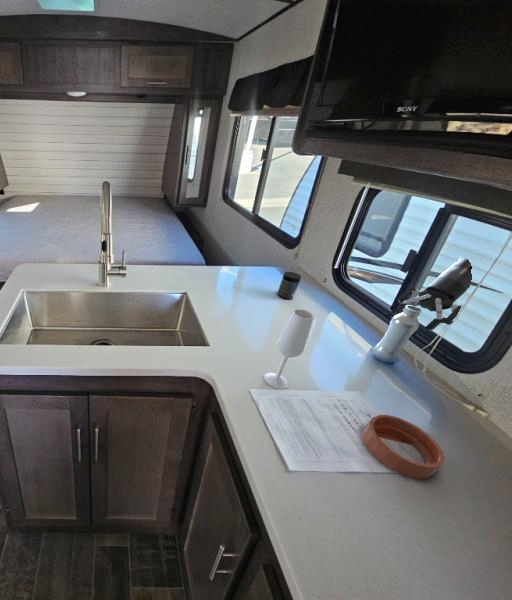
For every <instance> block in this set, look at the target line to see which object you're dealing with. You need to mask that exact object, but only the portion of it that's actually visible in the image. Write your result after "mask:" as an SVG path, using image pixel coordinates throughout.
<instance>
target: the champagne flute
mask: <svg viewBox="0 0 512 600" xmlns="http://www.w3.org/2000/svg"><path fill="white" fill-rule="evenodd" d="M314 317H315V316H314V314H313V313H312V312H311V311H308V310H306V309H302V308H296V309H294V310H293V312H292V314H291V315H290V317H289V319H288V321H287V322H286V325H285V327H284V328H283V330H282V332H281V334H280V336H279V338H278V340H277V342H276V346H277V349H278V351H279V353H280V354H281V355H282V359H281V362H280V364H279V366H278V369H277V371H276V373H275V372H267V373H266V374H264V376H263V378H264V381H265V383H266V384H267V385H269V386H270V387H272V388H275V389H278V390H284V389H287V388H288V387H289V381H288V380H287V379H286V378H285V377H284V376H283V375H282V374H283V371H284V369H285V366H286V364H287V361H288V359H289V358H290V359H291V358H296V357H299V356H301V355H303V353H304V351H305V348H306V344H307V340H308V337H309V334H310V331H311V328H312V324H313V321H314Z"/></svg>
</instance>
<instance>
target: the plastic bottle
mask: <svg viewBox="0 0 512 600" xmlns="http://www.w3.org/2000/svg"><path fill="white" fill-rule="evenodd" d="M421 313H422V308H421V307H418V306H411V305H407V306H406V307H405V309H403V312H402V313H400V314H398V315H394V316H393V317H392V318H391V319H390V322H389V325H388V327H387V330H386V332H385V333H384V336H383V337H382V338H381V339H380V341H379V342H378V343H376V344H375V346H374V347H373V349H372V355H373V357H374V358H376V359H377V360H379V361H381V362H383V363H388V364H391V363H395V362H396V361H397V360H398V359H399V358H400V356H401V352H402V350H403V348H404V347H405V344H406V343H407V341H408V340H409V339H410V337H412V335H413V334H414V333H415V332H416V331H417V330H418V329H419V327H420V322H419V319H418V317H420V314H421Z"/></svg>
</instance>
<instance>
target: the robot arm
mask: <svg viewBox="0 0 512 600" xmlns="http://www.w3.org/2000/svg"><path fill="white" fill-rule="evenodd" d="M458 259H459V260H458ZM458 259H457V260H458V261H457V262H456V261H455V262H454V263H453V264H452V265H450V266H449V267H448V268H447V269H446V270H444V271H443V272H441V274H439V275H438V276H437V278H435V279H434V280H433V281H432V282H431V283H430V284H429V285H428V286H427V287H425V288H424V289H423V290H419V289H417V288H416V287H415V286H410V287H409V288H407V289H406V290H405V291H404V292H403V293H402V294H400V295H399V296H398V297H397V301H398V304H399V305H398V306H397V307H396V308H395V309H394V316H396V315H398V314H400V313H403V309H405V307H406V306H407V305H411V306H415V307H418V306H420V307H419V308H421V309H422V308H423V309H426V310H428V311H430V312H435V315H436V318H433V319H432V320H431V321H430V322H429V323H428V324H427V325H426V326H425V327H424V328H425V329H424V330H426V331H428V332H429V331H433V330H435V329H436V328H437V327H438V326H440V324H445V325H447V326H448V325H449V326H451V325H452V324H453V323H454V322H455V321H452V320H453V319H454V318H455V317H456V316H457V314H458V312H459V310H460V308H461V306H462V305H457V304H454V303H455V302H456V301H458V299H460V297H462V295H464V294H466V292H467V291H468V290H469V289H470V288H471V287H470V284H471V280H472V274H471V269H472V266H471V263H470V262H469V260H468V259H466V258H461V259H460V258H458ZM469 287H470V288H469ZM468 288H469V289H468ZM467 289H468V290H467ZM416 295H417V296H416ZM411 297H412V298H411ZM409 298H410V299H409ZM449 309H451V311H450V312H451V313H450V314H449V315H448V316H447V317H444V316H443V311H444V310H449Z"/></svg>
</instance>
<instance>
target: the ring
mask: <svg viewBox="0 0 512 600" xmlns="http://www.w3.org/2000/svg"><path fill="white" fill-rule="evenodd" d="M361 434H362V435H361V437H362V438H361V439H362V441H363V443H364V445H365V447H366V448H367V450H368V451H369V452H370V453H371V455H373V456H374V457H375V459H377V460H378V461H379V462H380V463H382V464H383V465H384V466H386V467H387V468H389V469H391V470H392V471H394V472H396V473H398V474H401V475H403V476H406V477H410V478H414V479H427V478H429V477H432V476H433V475H434V474H435V473H436V472H437V471H438V470H439V469H440V468H441V467H442V466H443V464H444V463H445V454H444V451H443V450H442V448H441V446H440V445H439V443H438V442H437V440H435V439H434V438H433V437H432V436H431V435H430V434H429V433H428V432H426V431H424V430H423V429H422V428H421V427H419V426H417V425H415V424H413V423H412V422H410V421H408V420H406V419H403V418H400V417H398V416H395V415H389V414H376V415H375V416H372V418H370V420H369V421H368V423H367V424H366V426H365V427H364V429H363V430H362V432H361ZM382 439H384V440H388V441H394V442H397V443H401V444H406V445H410V446H413V447H414V448H415V450H417V451H418V453H419V454H420V455H421V457H422V459H423V463H421V462H417V461H413V460H411V459H409V458H407V457H404V456H402V455H400V454H399V453H397V452H396V451H394V450H393V449H391V448H390V447H389V446H388V445H386V444H385V442H384V441H382Z"/></svg>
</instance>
